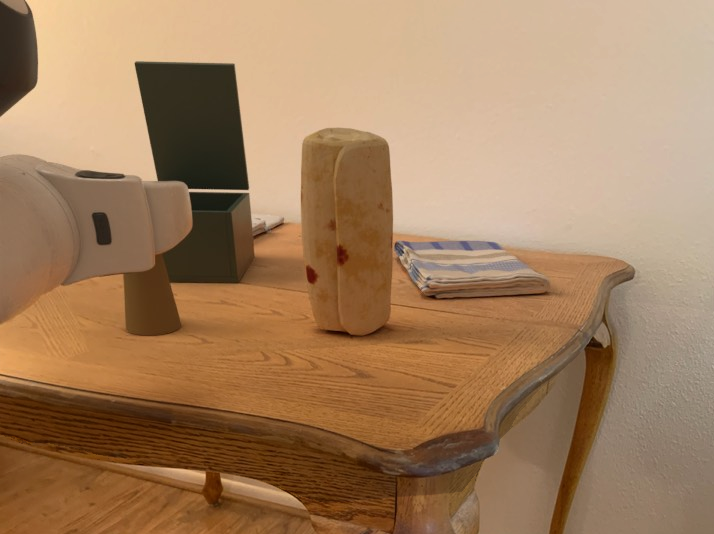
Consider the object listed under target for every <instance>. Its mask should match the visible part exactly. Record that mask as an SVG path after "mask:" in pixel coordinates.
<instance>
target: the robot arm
mask: <svg viewBox="0 0 714 534" xmlns="http://www.w3.org/2000/svg"><path fill="white" fill-rule="evenodd" d="M38 49H39V48H38V37H37V32H36V25H35V19H34V14H33V10H32V8H31V7H30V5H29V3H28V2H27V1H26V0H0V118H1V117H2V116H3V115H5V114H6V113H7V112H8V111H10V110H11V109H12V108H13V107H14V106H15V105H16V104H17V103H19V102H20V101H21V100H22V99H24V98H25V97H26V96H27V95H28V94H29V93H30V92H32V90H34V89H35V88H36V86H37V84H38V78H39V51H38ZM189 192H190V191H189V189H188V187H187V185H186V184H185V183H184V182H181V181H158V180H143V179H142V178H141V177H140V176H138V175H134V174H124V173H117V172H104V171H96V170H91V169H87V170H86V169H85V170H84V169H80V168H76V167H72V166H69V165H65V164H61V163H58V162H53V161H47V160H45V159H42V158H40V157H36V156H34V155H29V154H28V155H27V154H20V153H19V154H17V153H16V154H8V155H3V156H0V326H1V325H4V324H6V323H7V322H9V321H11V320H13V319H15V318H16V317H18V316H19V315H21V314H23V312H25V311H27V310H28V309H29V308H31V307H32V306H33V305H34V304H35V303H36V302H37V301H39V299H40V298H41V297H42V296H44V295H45V296H46V295H47V294H48V293H50V292H53V291H54V290H55V289H57V288H58V287H60V286H62V287H67V286H70V285H74V284H77V283H80V282H83V281H86V280H90V279H94V278H101V277H109V276H117V275H123V274H127V273H134V272H142V271H147V270H149V269H151V268H152V267H153V266H154V265H155V255H157V254H160V253H163V252H166V251H168V250H170V249H172V248H173V247H174V246H176V245H177V244H178V243H179V242H181V241H182V240H183V239H184V238H185V237H186V236H187V235H188V234H189V232H190V231H191V229H192V210H191V202H190V196H189Z"/></svg>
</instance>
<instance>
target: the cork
mask: <svg viewBox="0 0 714 534" xmlns="http://www.w3.org/2000/svg"><path fill="white" fill-rule="evenodd" d="M162 254H163V253H160V254H157V255H155V265H154V266H153V267H152V268H151V269H149V270H147V271H142V272H134V273H127V274H122V275H123V296H124V297H123V298H124V299H123V300H124V318H125V319H124V321H125V322H124V323H125V331H127V333H130V334H132V335H137V336H160V335H165V334H170V333H173V332H176V331H179V330H180V329H181V328H182V321H181V317H180V314H179V311H178V307H177V303H176V299H175V296H174V293H173V287H172V285H171V282H170V281H169V277H168V274H167V270H166V267H165V263H164V259H163V256H162Z"/></svg>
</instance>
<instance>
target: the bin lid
mask: <svg viewBox="0 0 714 534" xmlns="http://www.w3.org/2000/svg"><path fill="white" fill-rule="evenodd" d="M134 69H135V74H136V78H137V84H138V89H139V93H140V99H141V102H142V103H141V105H142V108H143V115H144V119H145V123H146V129H147V134H148V139H149V145H150V149H151V154H152V160H153V164H154V170H155V174H156V179H157V180H156V181H181V182H184V183H185V184H186V185H187V187H188V190H219V191H221V190H222V191H249V190H250V181H249V174H248V167H247V157H246V148H245V141H244V131H243V123H242V122H243V121H242V114H241V107H240V98H239V88H238V80H237V72H236V64H235V63H228V62H224V63H223V62H188V61H187V62H186V61H185V62H183V61H182V62H181V61H180V62H179V61H143V60H142V61H139V60H138V61H137V60H136V61H135V62H134Z"/></svg>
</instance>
